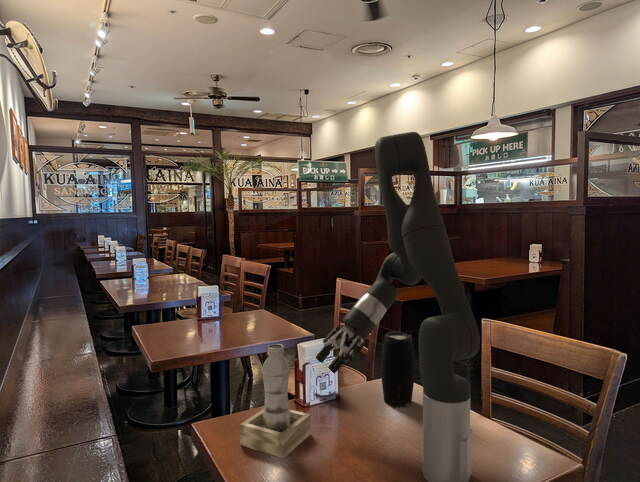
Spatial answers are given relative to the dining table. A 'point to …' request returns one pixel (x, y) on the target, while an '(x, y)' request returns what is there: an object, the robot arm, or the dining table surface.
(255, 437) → the stand
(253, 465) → the dining table surface
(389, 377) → the portable speaker
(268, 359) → the plastic bottle
